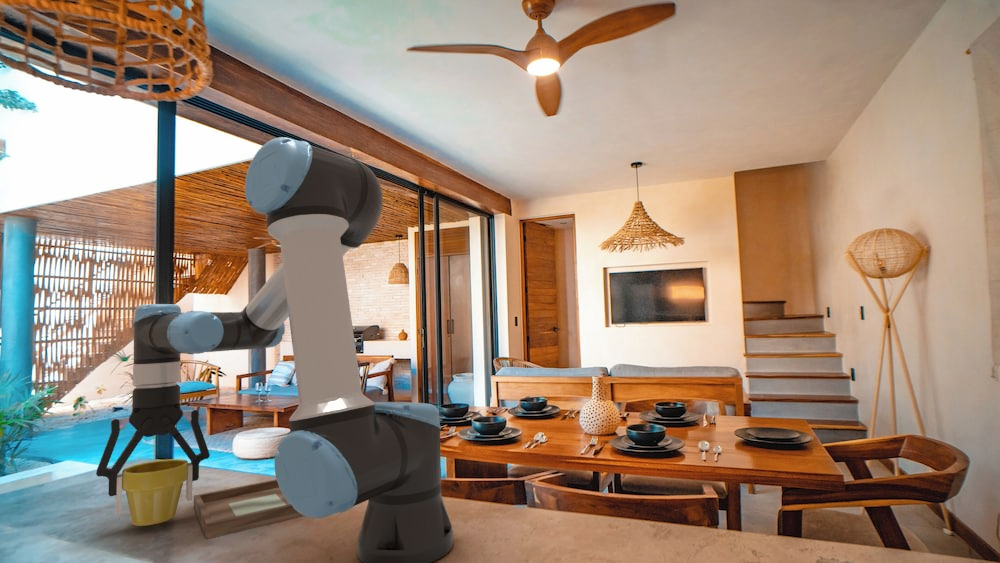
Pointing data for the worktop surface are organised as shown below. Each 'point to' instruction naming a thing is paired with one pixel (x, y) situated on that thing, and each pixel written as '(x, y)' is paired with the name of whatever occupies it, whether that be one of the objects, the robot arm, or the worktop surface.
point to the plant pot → (154, 490)
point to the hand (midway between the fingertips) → (155, 505)
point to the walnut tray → (242, 508)
